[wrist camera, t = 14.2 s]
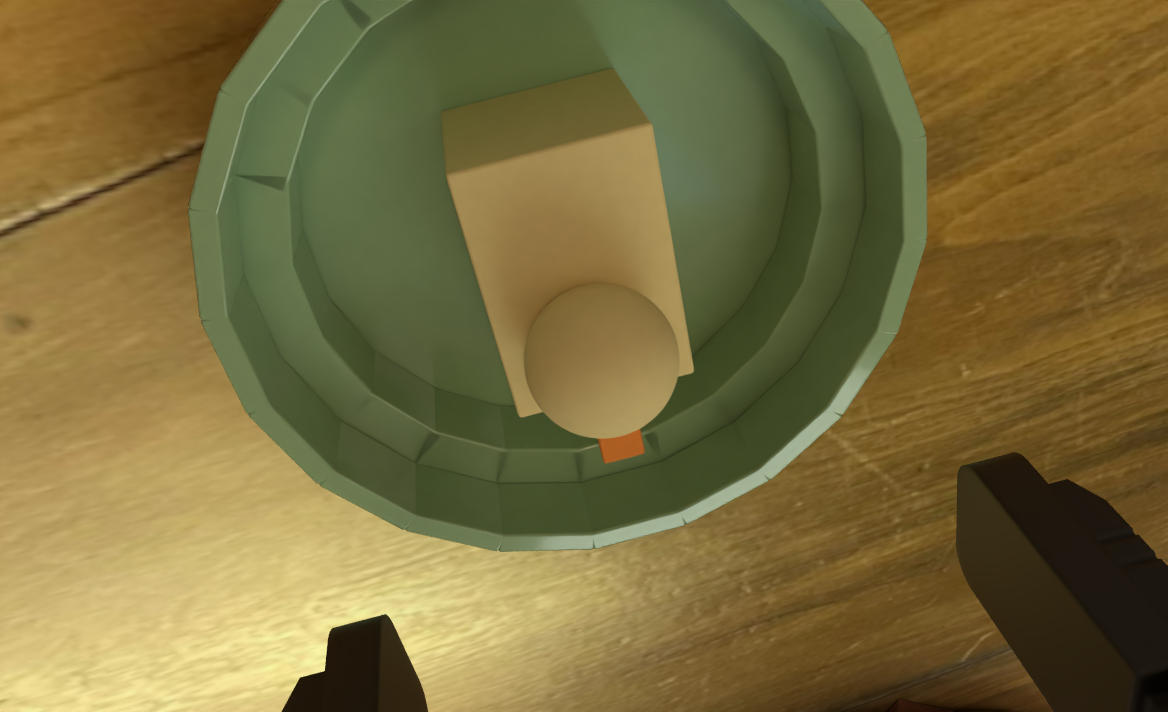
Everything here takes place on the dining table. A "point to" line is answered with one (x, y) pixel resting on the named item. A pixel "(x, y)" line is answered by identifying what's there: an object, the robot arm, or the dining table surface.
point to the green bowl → (449, 285)
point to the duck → (572, 253)
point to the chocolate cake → (914, 707)
